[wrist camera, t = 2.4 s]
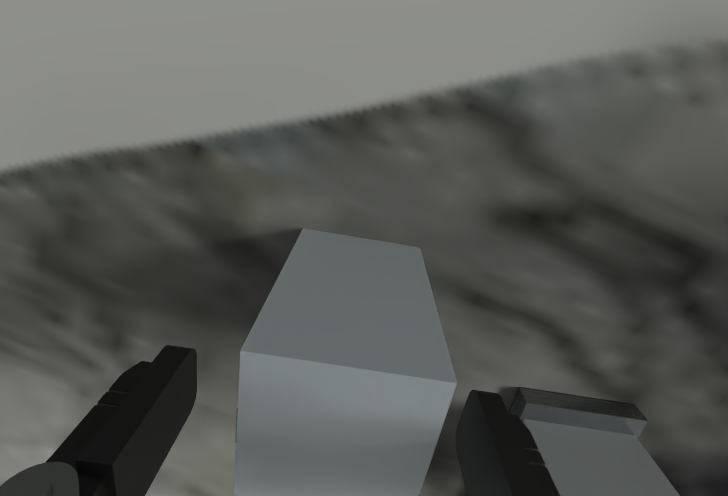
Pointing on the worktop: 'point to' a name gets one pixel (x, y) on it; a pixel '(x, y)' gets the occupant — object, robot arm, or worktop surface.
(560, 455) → the block
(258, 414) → the block
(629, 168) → the worktop surface
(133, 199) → the worktop surface
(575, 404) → the rail
